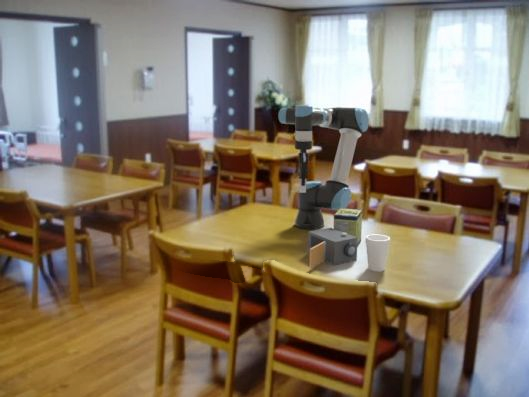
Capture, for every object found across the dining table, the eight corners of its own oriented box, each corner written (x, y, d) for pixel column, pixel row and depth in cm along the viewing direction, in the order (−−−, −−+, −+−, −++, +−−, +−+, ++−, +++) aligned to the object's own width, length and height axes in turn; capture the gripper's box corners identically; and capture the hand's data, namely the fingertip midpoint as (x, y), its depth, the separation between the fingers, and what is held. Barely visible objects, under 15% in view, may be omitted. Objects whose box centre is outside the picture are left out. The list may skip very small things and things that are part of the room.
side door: (308, 268, 215) (309, 248, 213) (323, 259, 225) (323, 241, 223) (311, 268, 214) (312, 249, 212) (325, 260, 224) (326, 241, 222)
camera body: (329, 249, 242) (330, 225, 239) (359, 261, 225) (360, 236, 223) (307, 253, 235) (308, 229, 233) (337, 266, 219) (337, 240, 216)
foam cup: (362, 265, 221) (363, 234, 218) (384, 264, 222) (385, 234, 219) (368, 273, 212) (369, 241, 209) (391, 272, 213) (393, 240, 210)
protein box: (361, 241, 254) (362, 209, 250) (355, 250, 239) (356, 217, 236) (339, 239, 257) (340, 207, 254) (332, 248, 243) (333, 215, 239)
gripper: (293, 138, 245) (293, 189, 250) (296, 141, 233) (295, 195, 238) (310, 138, 245) (309, 189, 251) (313, 141, 233) (312, 195, 238)
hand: (302, 192), depth 244 cm, fingers closed
